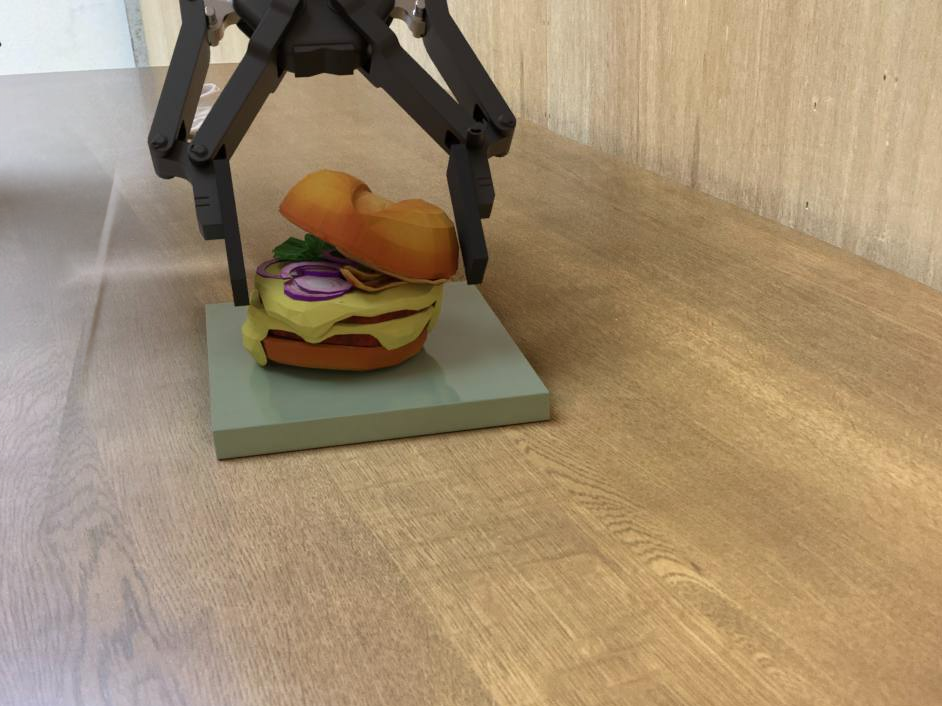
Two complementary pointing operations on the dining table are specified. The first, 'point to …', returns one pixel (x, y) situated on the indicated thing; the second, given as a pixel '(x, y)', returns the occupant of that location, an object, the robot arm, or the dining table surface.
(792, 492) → the dining table surface
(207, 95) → the whipped cream
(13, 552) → the dining table surface
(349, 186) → the cheeseburger
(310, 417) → the serving slab
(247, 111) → the robot arm
